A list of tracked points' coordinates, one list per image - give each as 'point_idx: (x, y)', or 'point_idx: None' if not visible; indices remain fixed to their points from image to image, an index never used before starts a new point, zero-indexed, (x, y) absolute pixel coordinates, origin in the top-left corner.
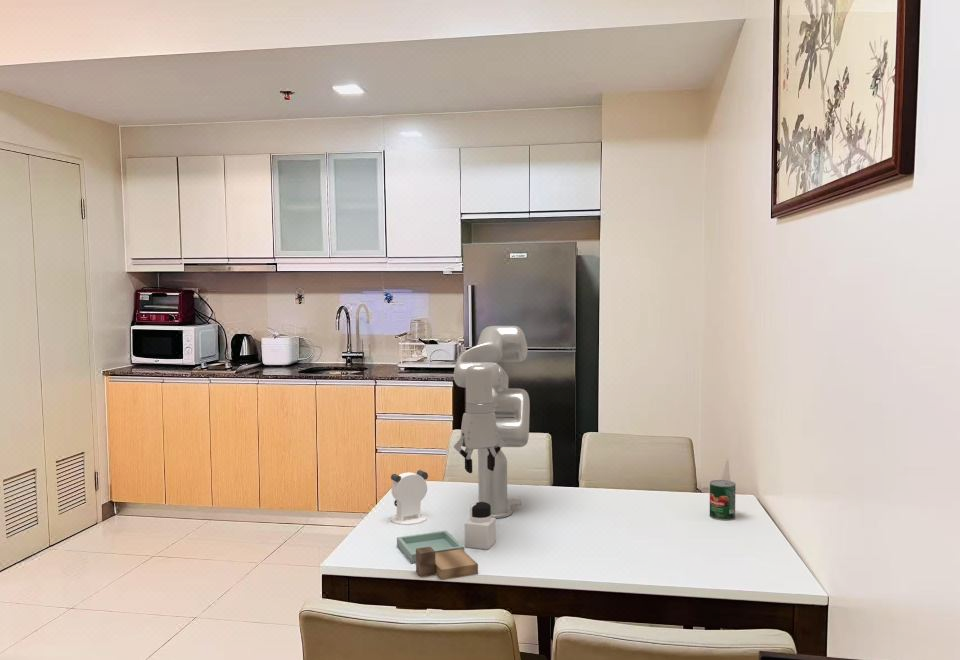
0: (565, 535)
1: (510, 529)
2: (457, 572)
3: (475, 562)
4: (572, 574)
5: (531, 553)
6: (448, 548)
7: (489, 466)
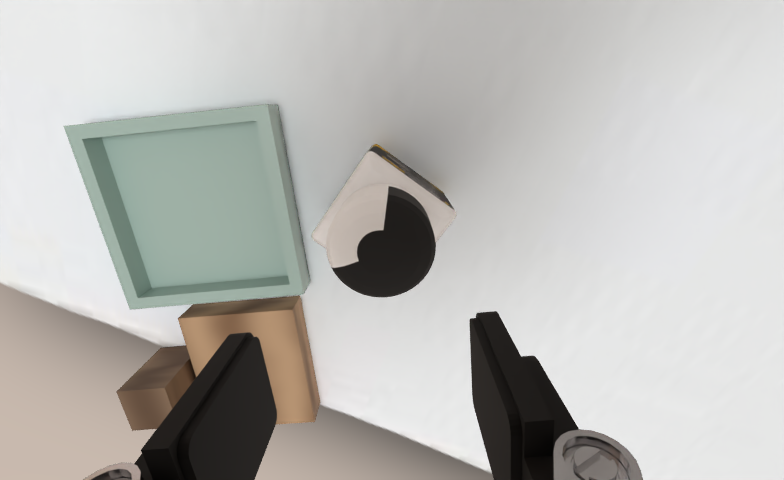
0: (700, 205)
1: (551, 72)
2: None
3: (310, 411)
4: None
5: (509, 319)
6: (250, 293)
7: (478, 387)
